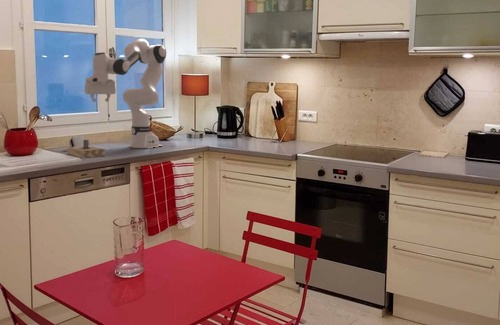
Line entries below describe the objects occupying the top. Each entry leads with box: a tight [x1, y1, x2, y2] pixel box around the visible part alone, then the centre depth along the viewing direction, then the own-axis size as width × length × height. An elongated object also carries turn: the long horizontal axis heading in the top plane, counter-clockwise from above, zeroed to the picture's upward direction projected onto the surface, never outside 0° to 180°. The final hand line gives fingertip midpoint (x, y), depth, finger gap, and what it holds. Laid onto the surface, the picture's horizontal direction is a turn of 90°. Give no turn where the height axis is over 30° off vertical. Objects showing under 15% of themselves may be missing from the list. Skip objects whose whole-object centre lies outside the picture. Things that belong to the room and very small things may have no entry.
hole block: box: [66, 145, 106, 159], centre depth 332 cm, size 14×18×4 cm
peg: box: [83, 139, 90, 149], centre depth 332 cm, size 3×3×9 cm
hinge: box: [68, 134, 86, 147], centre depth 353 cm, size 17×5×10 cm, turn 171°
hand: (100, 101), depth 345 cm, fingers open, 8 cm apart
